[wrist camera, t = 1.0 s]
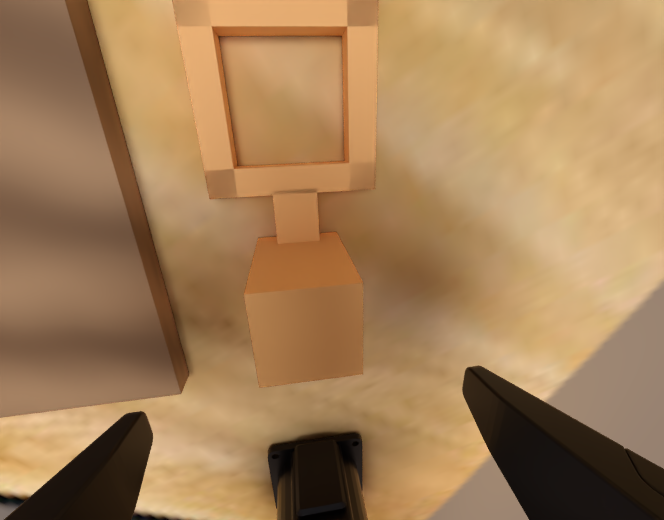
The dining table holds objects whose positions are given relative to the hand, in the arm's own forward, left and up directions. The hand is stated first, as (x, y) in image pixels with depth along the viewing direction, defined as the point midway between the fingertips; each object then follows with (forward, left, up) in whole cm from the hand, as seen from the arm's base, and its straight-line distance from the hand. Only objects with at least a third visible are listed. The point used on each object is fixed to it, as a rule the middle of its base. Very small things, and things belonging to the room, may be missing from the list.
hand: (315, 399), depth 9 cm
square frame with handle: (+5, 0, -9) cm, 10 cm away
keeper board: (+4, +14, -9) cm, 17 cm away
